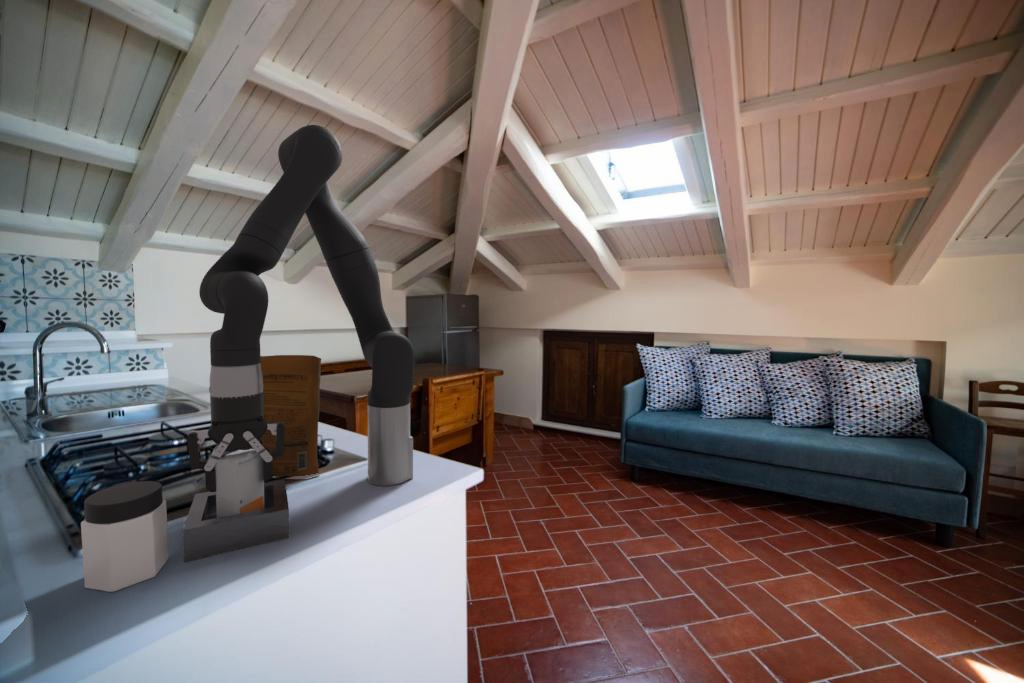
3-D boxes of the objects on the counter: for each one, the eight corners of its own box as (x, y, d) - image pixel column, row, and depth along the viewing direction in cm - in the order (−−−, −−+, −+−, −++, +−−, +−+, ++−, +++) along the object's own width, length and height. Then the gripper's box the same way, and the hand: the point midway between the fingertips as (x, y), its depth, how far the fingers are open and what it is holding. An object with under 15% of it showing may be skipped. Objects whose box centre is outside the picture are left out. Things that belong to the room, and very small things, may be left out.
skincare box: (238, 532, 69) (235, 461, 68) (216, 529, 70) (213, 459, 69) (266, 514, 75) (264, 449, 74) (246, 511, 76) (243, 447, 75)
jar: (162, 548, 66) (159, 475, 65) (175, 570, 61) (171, 490, 60) (81, 575, 59) (76, 493, 59) (88, 602, 54) (82, 513, 53)
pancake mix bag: (315, 484, 91) (313, 356, 89) (230, 481, 92) (226, 354, 90) (330, 472, 98) (328, 353, 96) (251, 469, 99) (247, 351, 97)
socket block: (285, 503, 82) (284, 478, 82) (289, 537, 70) (288, 508, 70) (196, 520, 75) (195, 493, 75) (184, 562, 63) (182, 530, 63)
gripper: (284, 383, 78) (286, 470, 79) (187, 390, 70) (191, 486, 72) (286, 391, 71) (289, 485, 72) (179, 399, 64) (184, 504, 65)
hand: (240, 485), depth 72 cm, fingers closed on skincare box, 7 cm apart
